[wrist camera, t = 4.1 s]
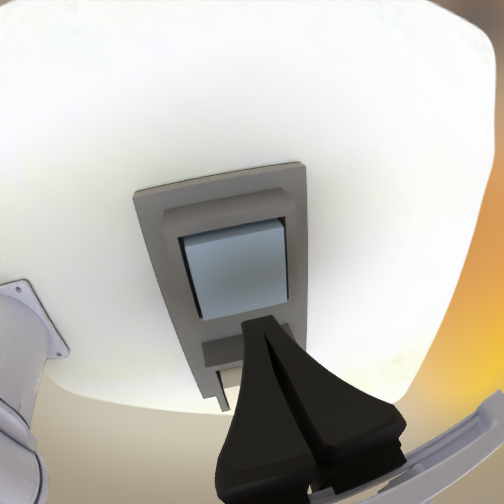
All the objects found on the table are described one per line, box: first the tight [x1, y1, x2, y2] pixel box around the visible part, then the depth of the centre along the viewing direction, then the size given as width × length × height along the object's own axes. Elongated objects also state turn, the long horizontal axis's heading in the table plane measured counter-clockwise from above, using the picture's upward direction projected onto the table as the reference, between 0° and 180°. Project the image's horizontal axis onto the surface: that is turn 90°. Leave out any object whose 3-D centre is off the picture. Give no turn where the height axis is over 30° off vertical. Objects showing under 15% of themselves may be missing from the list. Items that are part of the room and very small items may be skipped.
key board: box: [133, 162, 308, 412], centre depth 21 cm, size 10×20×4 cm, turn 6°
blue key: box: [184, 218, 287, 321], centre depth 17 cm, size 5×5×2 cm
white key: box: [220, 365, 243, 416], centre depth 22 cm, size 5×5×2 cm
